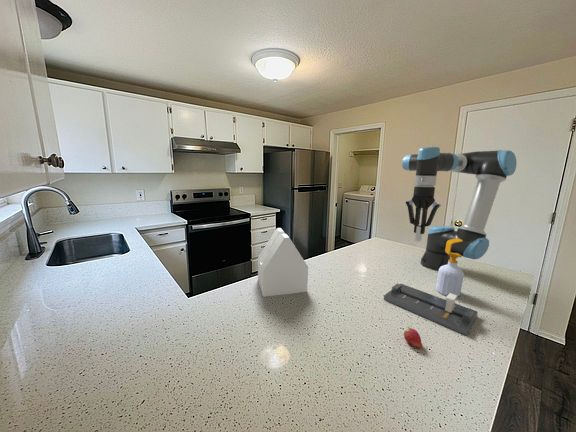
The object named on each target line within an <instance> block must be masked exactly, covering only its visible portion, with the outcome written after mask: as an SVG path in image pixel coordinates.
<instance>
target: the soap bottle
mask: <svg viewBox="0 0 576 432" xmlns="http://www.w3.org/2000/svg"><path fill="white" fill-rule="evenodd" d="M459 242H463V240H461V239H459V238H457V239H451V240H448V241H447V242H446V248H445V252H446V253H447V254H448V255H450V258H451V259H449V260H448V264H447V265H443V266H441V267H440V268H439V271H438V270H437V272H438V273H437V279H436V283H435V284H436V286H435V290H436V291H437V292H438V294H439V293H440V294H441V295H444V296H445V297H447V296H448V294H449V293H451V294H454V295H457V298H458V297H460V296H461V292H462V287H463V282H464V278H465V277H464V276H465V274H464V272H463V270H462V269H461V268H460V267H458V260H457V259H458V258H462V257H463V256H461V255H460V254H458V253H451V247H452V245H453V244H454V243H459Z"/></svg>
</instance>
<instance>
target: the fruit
mask: <svg viewBox="0 0 576 432" xmlns="http://www.w3.org/2000/svg"><path fill="white" fill-rule="evenodd" d="M403 335H404V337H403V338H404V339H405V341H406V342H407V343H408V344H409V345H411V346H413V347H414V348H418V349H422V348H423V344H422V339H421V338H422V337H421V336H420V334H419V332H418V331H417V330H416V329H414V328H411V327H410V325H409V326H408V327H407V329H405V330H404V332H403Z"/></svg>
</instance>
